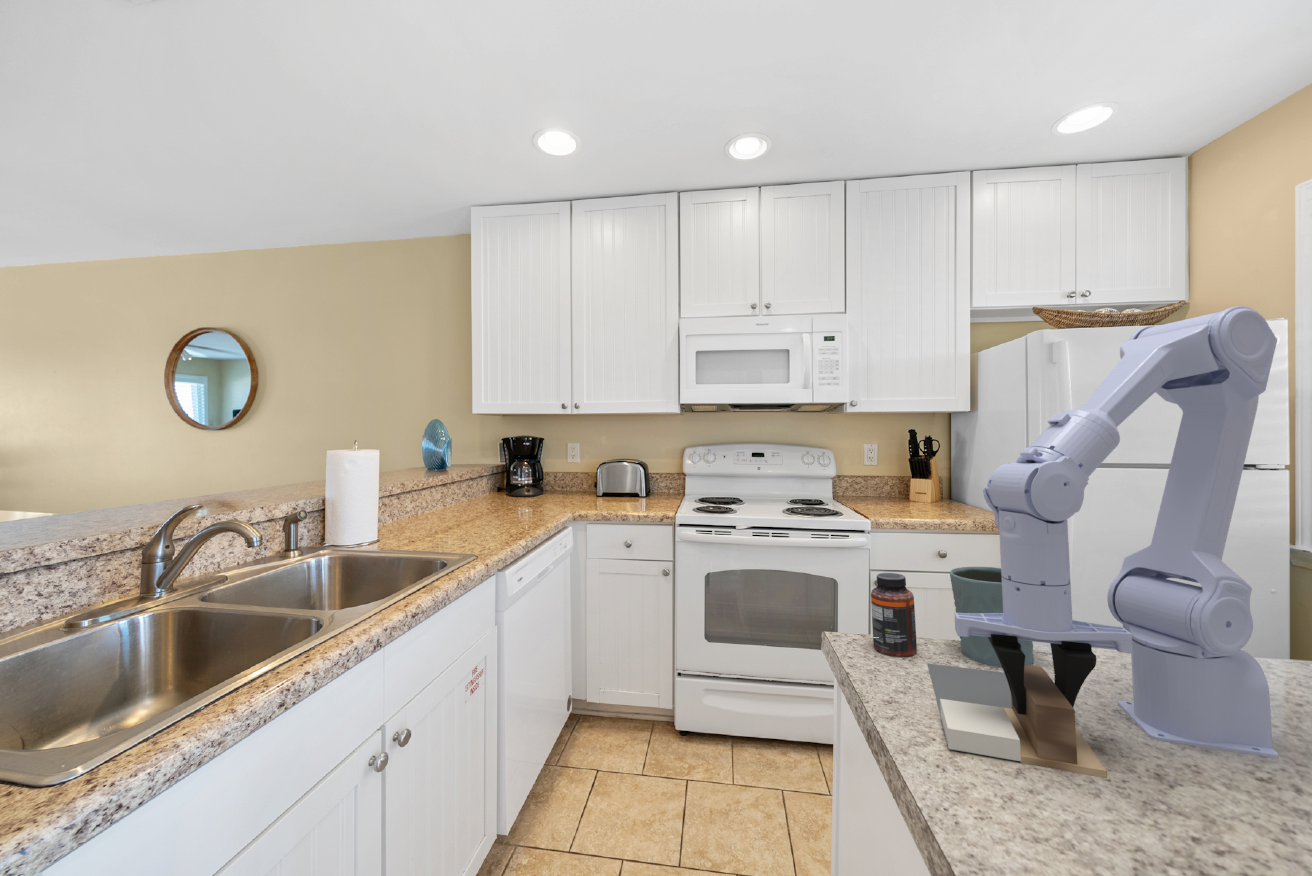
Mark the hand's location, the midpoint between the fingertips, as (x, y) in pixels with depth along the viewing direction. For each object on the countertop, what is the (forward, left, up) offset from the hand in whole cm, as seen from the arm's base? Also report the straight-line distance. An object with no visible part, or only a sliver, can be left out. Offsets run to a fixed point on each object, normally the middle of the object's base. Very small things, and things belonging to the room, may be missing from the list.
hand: (1041, 713), depth 52 cm
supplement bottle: (+13, -21, -3) cm, 25 cm away
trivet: (0, 0, -3) cm, 3 cm away
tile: (+6, -1, -2) cm, 6 cm away
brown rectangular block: (0, 0, -2) cm, 2 cm away
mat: (+3, -7, -3) cm, 8 cm away
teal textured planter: (0, -23, -3) cm, 23 cm away
